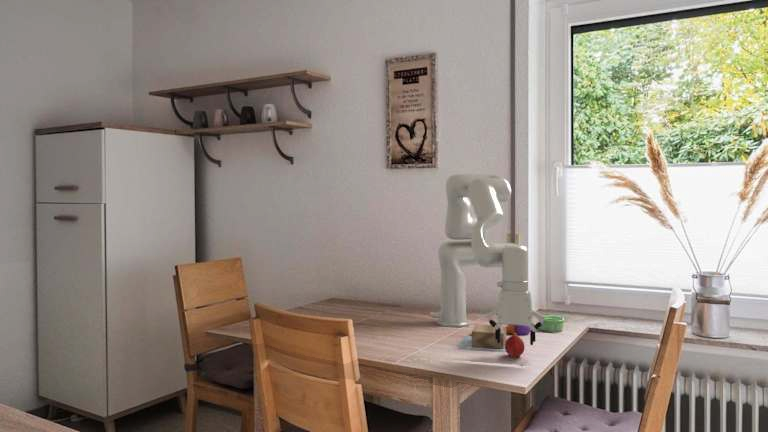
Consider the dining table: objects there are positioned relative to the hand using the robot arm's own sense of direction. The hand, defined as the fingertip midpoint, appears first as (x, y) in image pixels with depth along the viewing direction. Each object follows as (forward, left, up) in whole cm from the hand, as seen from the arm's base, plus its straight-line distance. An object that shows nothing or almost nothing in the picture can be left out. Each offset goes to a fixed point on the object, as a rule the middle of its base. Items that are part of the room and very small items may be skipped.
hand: (515, 343), depth 174 cm
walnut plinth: (-9, +12, -4) cm, 16 cm away
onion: (0, 0, -5) cm, 5 cm away
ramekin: (+10, +41, -5) cm, 43 cm away
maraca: (-6, +27, -5) cm, 28 cm away
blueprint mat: (-9, +12, -5) cm, 16 cm away
